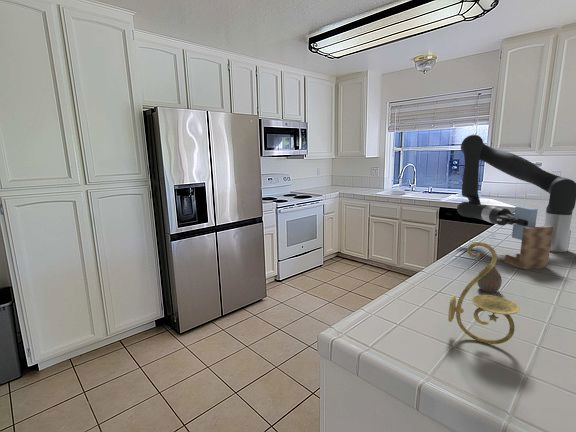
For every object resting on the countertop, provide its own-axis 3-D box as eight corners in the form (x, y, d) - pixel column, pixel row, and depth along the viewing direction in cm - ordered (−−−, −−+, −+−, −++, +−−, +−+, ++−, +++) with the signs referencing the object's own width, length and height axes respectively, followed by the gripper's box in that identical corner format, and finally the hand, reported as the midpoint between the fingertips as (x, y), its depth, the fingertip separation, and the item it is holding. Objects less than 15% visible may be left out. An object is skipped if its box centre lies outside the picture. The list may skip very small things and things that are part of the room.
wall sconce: (445, 341, 79) (453, 244, 74) (451, 324, 86) (459, 235, 82) (514, 361, 71) (528, 253, 66) (514, 341, 78) (526, 242, 74)
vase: (497, 287, 109) (499, 263, 108) (503, 296, 103) (506, 270, 101) (474, 285, 112) (476, 261, 110) (478, 293, 105) (481, 268, 103)
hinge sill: (520, 258, 138) (525, 220, 135) (547, 267, 127) (553, 226, 124) (496, 260, 136) (500, 222, 133) (521, 270, 125) (526, 228, 122)
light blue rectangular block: (517, 236, 134) (521, 206, 132) (533, 241, 127) (537, 209, 125) (511, 237, 134) (515, 206, 131) (526, 241, 127) (531, 209, 124)
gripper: (482, 207, 141) (517, 215, 124) (510, 206, 143) (547, 213, 127) (481, 224, 142) (514, 233, 126) (508, 222, 145) (544, 231, 128)
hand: (530, 223), depth 126 cm, fingers closed on light blue rectangular block, 3 cm apart
